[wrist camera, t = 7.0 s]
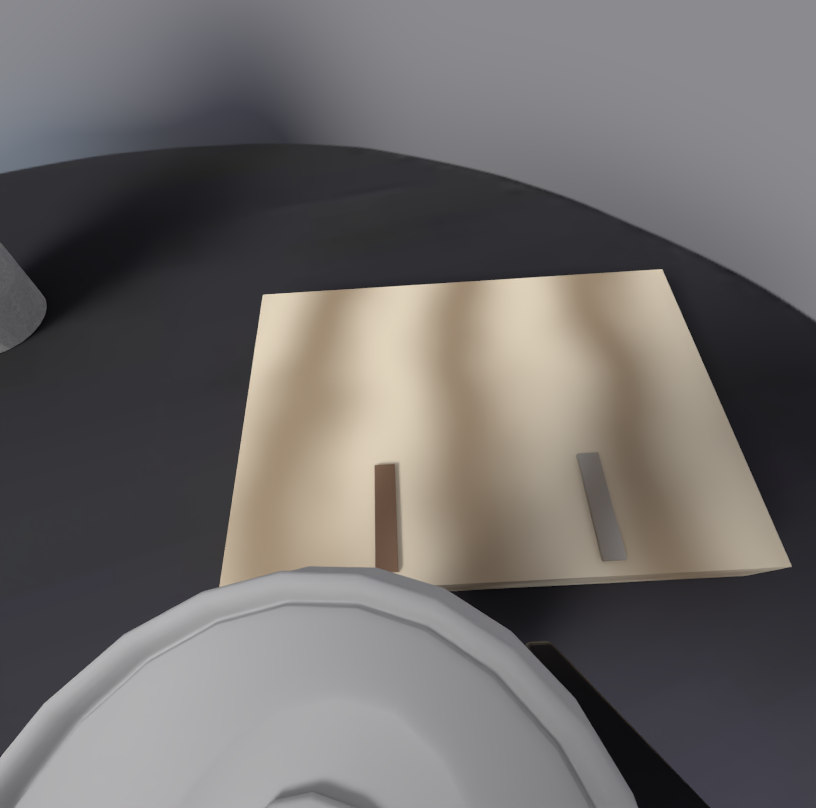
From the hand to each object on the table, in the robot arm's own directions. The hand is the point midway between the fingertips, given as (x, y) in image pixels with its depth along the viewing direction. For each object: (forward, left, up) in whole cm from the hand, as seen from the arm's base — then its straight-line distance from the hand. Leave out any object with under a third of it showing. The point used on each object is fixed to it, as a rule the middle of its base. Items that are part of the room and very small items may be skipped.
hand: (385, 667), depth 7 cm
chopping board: (+6, -7, -10) cm, 14 cm away
